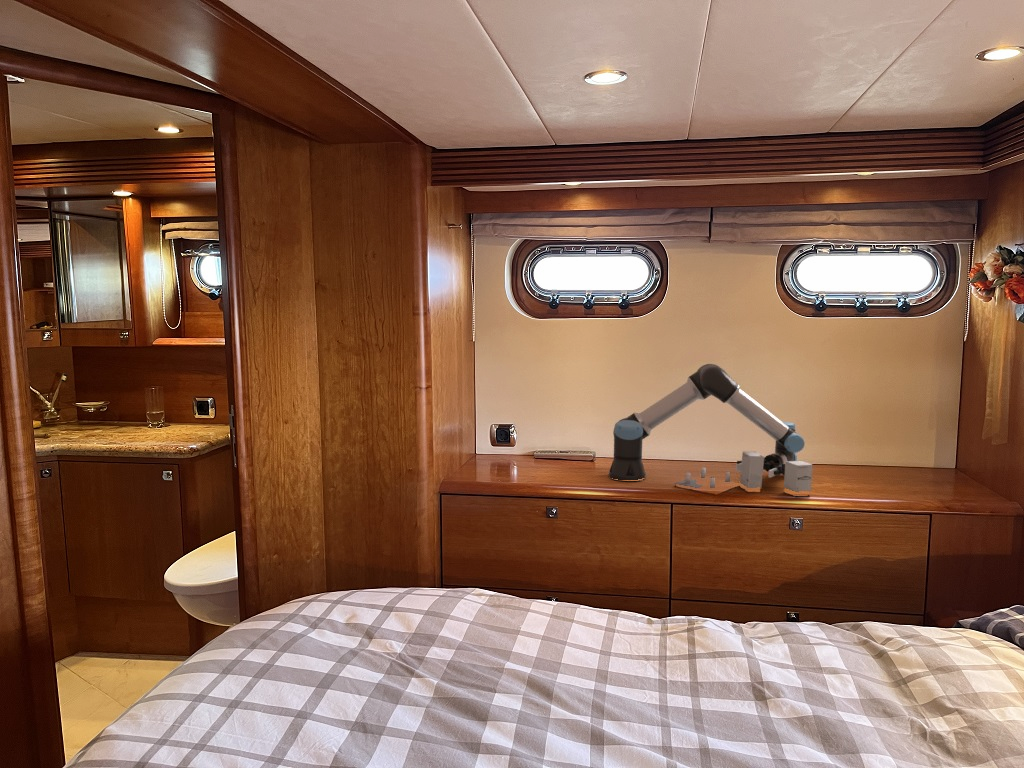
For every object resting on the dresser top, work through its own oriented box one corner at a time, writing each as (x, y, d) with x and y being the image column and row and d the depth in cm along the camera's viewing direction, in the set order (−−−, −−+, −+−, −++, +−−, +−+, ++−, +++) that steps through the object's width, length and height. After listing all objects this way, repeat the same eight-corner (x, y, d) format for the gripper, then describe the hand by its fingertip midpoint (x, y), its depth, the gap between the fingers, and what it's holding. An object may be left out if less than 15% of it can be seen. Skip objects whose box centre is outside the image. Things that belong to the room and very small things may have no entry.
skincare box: (739, 487, 297) (740, 450, 296) (753, 487, 298) (755, 450, 296) (747, 492, 289) (749, 455, 287) (762, 492, 290) (764, 455, 288)
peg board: (674, 486, 297) (675, 473, 297) (699, 478, 312) (699, 465, 311) (716, 495, 285) (717, 481, 284) (739, 485, 300) (740, 472, 299)
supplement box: (794, 497, 283) (796, 465, 281) (782, 492, 290) (784, 461, 288) (811, 496, 285) (813, 464, 283) (799, 491, 292) (801, 460, 290)
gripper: (804, 476, 300) (783, 486, 284) (745, 466, 317) (722, 475, 301) (805, 458, 299) (784, 466, 283) (746, 449, 316) (723, 456, 300)
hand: (752, 471), depth 292 cm, fingers open, 13 cm apart
